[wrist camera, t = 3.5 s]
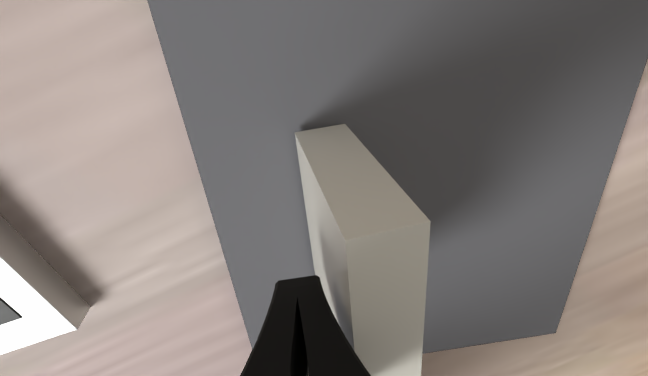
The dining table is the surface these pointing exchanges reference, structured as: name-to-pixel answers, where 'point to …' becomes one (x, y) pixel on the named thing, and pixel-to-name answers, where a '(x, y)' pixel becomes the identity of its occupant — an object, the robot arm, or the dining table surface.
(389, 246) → the tile
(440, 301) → the mat
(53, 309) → the picture frame
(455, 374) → the dining table surface
